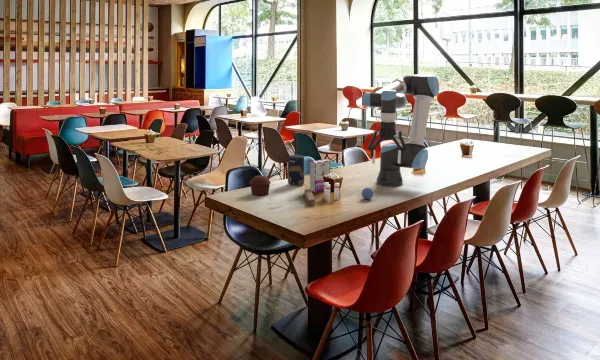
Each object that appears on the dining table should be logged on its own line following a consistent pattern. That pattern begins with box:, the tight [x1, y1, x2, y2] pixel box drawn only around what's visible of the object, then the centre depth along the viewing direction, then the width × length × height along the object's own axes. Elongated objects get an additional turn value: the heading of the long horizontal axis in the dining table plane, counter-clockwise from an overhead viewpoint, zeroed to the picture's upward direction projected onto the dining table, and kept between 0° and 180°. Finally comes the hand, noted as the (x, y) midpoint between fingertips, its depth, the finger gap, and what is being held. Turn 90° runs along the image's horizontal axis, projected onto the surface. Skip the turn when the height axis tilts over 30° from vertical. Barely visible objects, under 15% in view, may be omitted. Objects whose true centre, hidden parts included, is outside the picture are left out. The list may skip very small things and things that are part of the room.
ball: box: [361, 187, 374, 200], centre depth 270 cm, size 6×6×6 cm
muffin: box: [249, 174, 272, 197], centre depth 279 cm, size 12×11×10 cm
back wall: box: [304, 188, 316, 207], centre depth 268 cm, size 3×22×3 cm, turn 5°
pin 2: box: [324, 183, 331, 202], centre depth 266 cm, size 2×2×8 cm
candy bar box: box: [309, 159, 331, 193], centre depth 289 cm, size 11×5×16 cm, turn 129°
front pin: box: [333, 182, 340, 201], centre depth 268 cm, size 2×2×8 cm
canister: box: [287, 153, 305, 187], centre depth 301 cm, size 10×10×18 cm
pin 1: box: [323, 182, 329, 200], centre depth 270 cm, size 2×2×8 cm
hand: (386, 163), depth 268 cm, fingers open, 12 cm apart
